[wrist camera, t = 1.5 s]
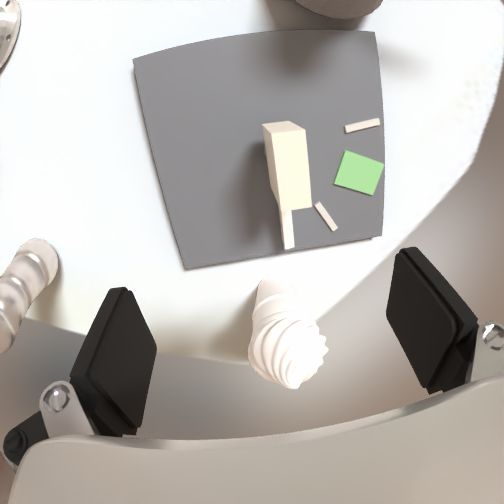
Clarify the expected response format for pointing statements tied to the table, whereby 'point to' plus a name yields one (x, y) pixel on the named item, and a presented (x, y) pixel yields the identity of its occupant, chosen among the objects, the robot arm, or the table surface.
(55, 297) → the table surface
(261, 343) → the soft serve ice cream cone
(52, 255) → the plastic bottle
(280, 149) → the peg head
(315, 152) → the plate
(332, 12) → the coffee pot
